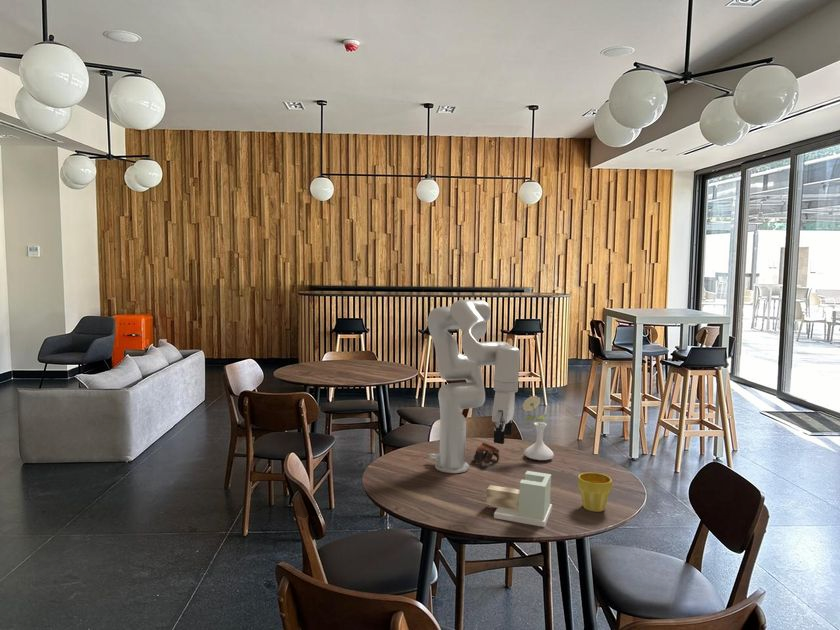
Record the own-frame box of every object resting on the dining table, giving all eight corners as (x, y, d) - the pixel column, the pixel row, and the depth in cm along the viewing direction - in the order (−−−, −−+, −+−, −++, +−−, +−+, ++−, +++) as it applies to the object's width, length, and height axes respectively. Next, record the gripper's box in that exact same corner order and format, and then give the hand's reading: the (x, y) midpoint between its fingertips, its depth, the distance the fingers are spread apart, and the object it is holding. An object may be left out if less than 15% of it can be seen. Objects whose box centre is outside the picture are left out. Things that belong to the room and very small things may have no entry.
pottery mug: (468, 459, 234) (477, 440, 235) (490, 470, 234) (498, 451, 236) (476, 461, 222) (485, 441, 224) (498, 473, 222) (507, 452, 224)
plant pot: (569, 503, 191) (571, 474, 191) (595, 499, 196) (597, 470, 195) (591, 516, 182) (592, 485, 181) (617, 511, 186) (619, 481, 185)
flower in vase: (549, 453, 242) (552, 392, 239) (556, 463, 230) (559, 399, 228) (517, 453, 241) (519, 392, 239) (523, 462, 230) (525, 398, 228)
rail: (486, 504, 185) (487, 485, 185) (489, 500, 189) (490, 481, 188) (538, 513, 180) (539, 493, 179) (540, 508, 183) (541, 489, 183)
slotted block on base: (494, 518, 179) (495, 480, 178) (504, 501, 192) (505, 466, 191) (544, 527, 174) (546, 488, 173) (551, 508, 187) (553, 473, 186)
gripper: (501, 378, 196) (498, 429, 198) (486, 390, 180) (483, 444, 182) (523, 381, 194) (520, 432, 196) (511, 393, 178) (507, 449, 180)
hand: (502, 438), depth 189 cm, fingers open, 9 cm apart
